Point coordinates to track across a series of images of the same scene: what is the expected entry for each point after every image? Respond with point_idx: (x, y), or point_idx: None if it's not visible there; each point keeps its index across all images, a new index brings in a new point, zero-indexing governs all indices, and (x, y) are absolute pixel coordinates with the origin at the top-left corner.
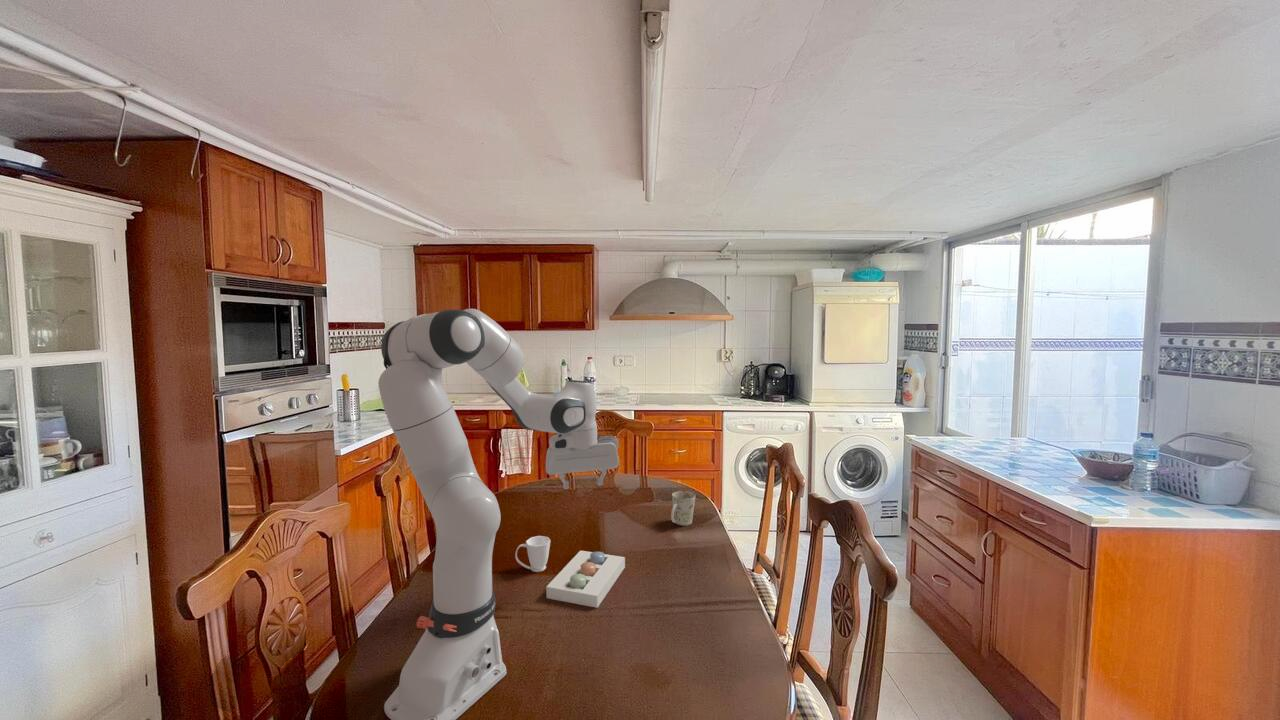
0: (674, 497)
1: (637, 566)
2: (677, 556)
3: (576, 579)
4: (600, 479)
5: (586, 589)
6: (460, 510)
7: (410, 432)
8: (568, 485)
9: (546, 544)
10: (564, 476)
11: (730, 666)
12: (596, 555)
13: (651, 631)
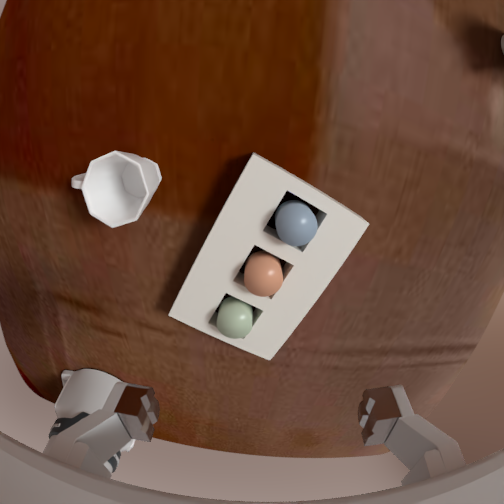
0: None
1: (388, 218)
2: (471, 198)
3: (230, 330)
4: (381, 443)
5: (251, 339)
6: None
7: None
8: (151, 427)
9: (139, 215)
10: (110, 476)
11: None
12: (294, 230)
13: (333, 395)
